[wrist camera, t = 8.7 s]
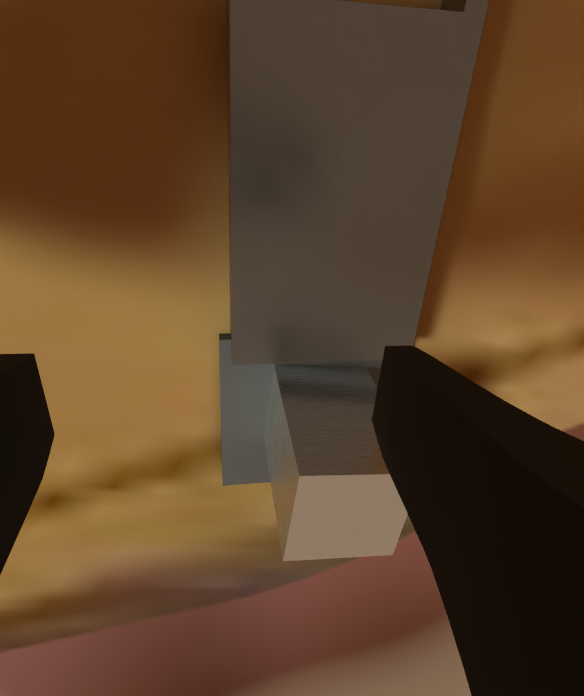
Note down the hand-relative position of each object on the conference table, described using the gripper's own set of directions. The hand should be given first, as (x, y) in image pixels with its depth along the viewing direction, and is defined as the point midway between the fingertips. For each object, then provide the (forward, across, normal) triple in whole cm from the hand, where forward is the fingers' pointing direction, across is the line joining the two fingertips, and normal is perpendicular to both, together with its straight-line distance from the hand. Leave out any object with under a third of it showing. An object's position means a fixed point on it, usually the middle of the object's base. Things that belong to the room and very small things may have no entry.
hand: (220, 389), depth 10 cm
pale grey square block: (+10, -4, +8) cm, 14 cm away
